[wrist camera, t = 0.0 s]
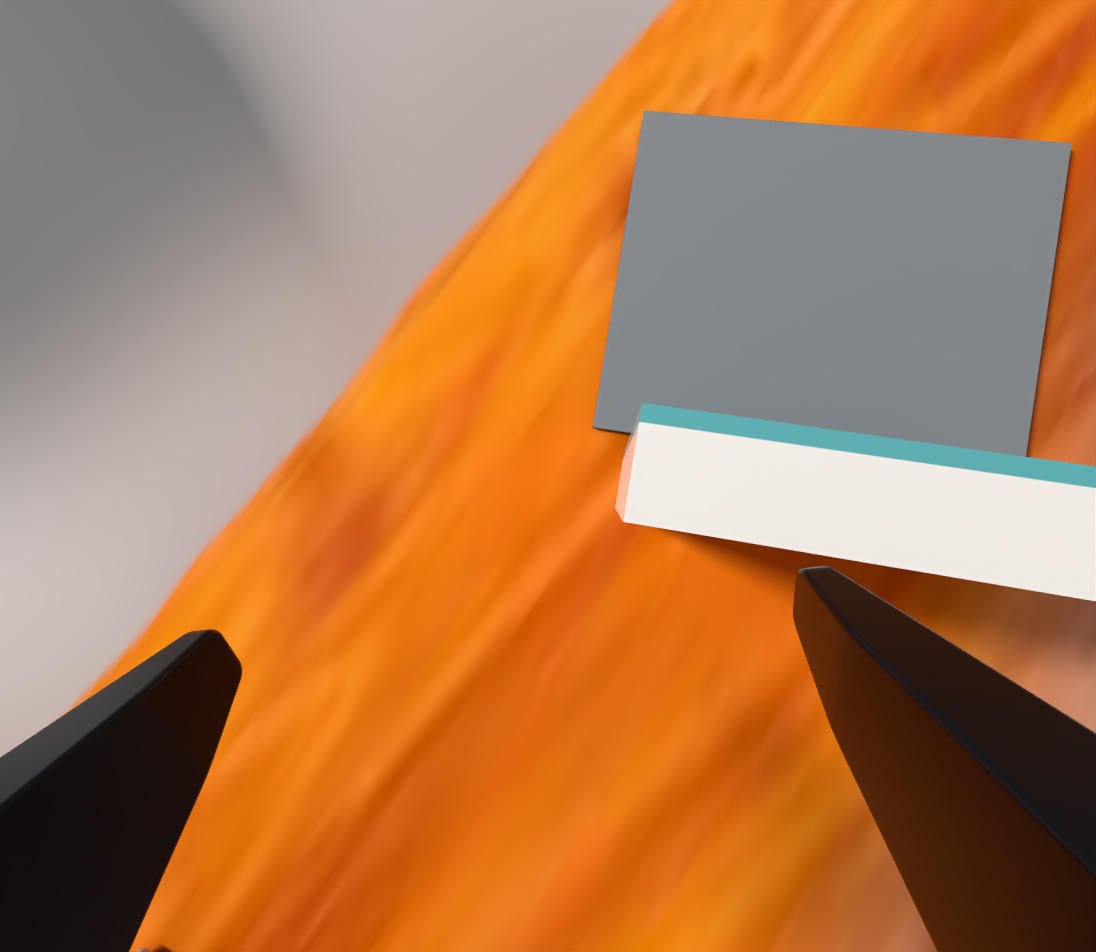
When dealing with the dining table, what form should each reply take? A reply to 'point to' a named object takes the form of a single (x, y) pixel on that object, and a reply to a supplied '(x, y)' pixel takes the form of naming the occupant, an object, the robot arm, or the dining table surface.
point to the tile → (864, 498)
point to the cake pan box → (143, 950)
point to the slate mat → (835, 278)
